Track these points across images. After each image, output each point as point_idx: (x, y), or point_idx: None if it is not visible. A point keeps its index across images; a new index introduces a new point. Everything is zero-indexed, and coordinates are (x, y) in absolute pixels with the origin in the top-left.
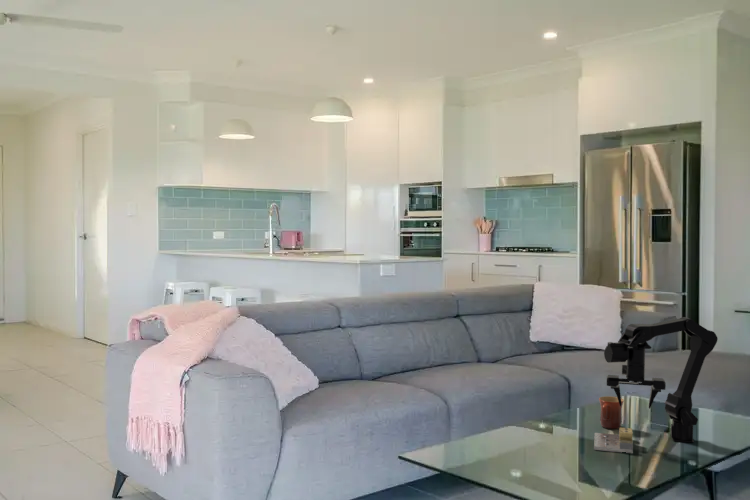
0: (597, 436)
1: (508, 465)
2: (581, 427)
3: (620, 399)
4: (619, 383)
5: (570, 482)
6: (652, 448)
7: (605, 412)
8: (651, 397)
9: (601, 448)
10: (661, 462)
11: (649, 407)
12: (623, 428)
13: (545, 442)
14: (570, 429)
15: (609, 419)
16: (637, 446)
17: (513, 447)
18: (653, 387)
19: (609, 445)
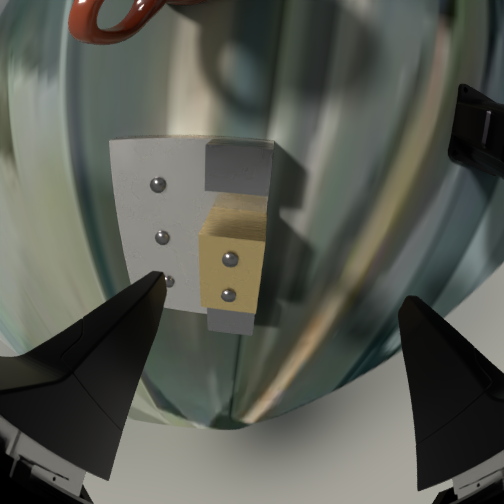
0: (124, 194)
1: None
2: None
3: (140, 364)
4: (64, 492)
5: (149, 409)
6: (339, 251)
7: (105, 44)
8: (419, 423)
9: None
10: (320, 353)
11: (401, 325)
12: (218, 250)
13: (30, 251)
14: (44, 86)
15: (160, 5)
16: (286, 238)
17: (14, 291)
18: (454, 491)
19: (177, 291)
